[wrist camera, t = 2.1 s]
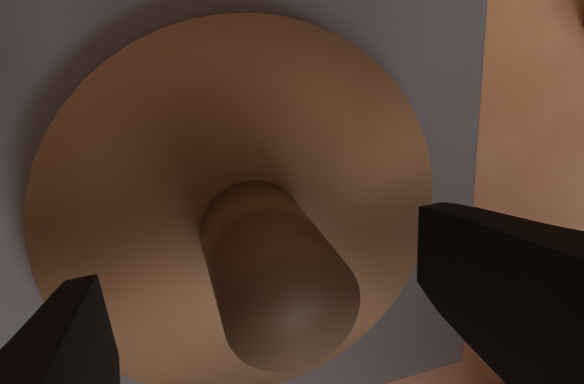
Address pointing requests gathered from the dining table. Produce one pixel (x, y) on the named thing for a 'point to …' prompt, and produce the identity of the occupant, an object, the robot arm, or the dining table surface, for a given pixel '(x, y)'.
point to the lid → (232, 198)
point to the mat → (291, 3)
